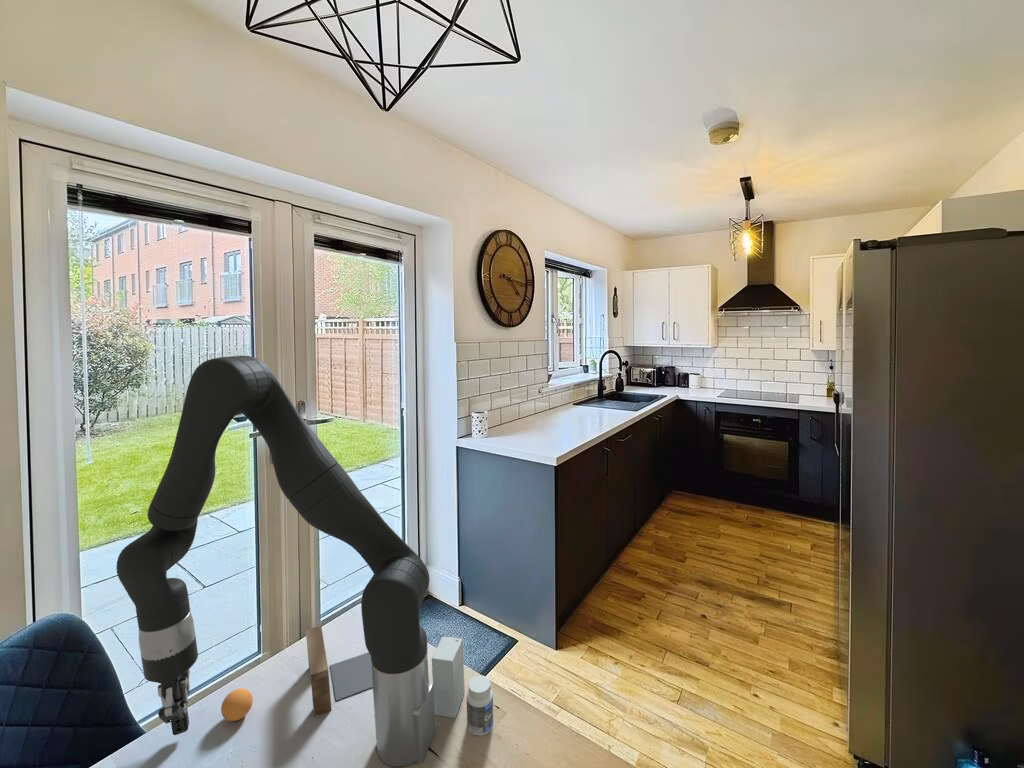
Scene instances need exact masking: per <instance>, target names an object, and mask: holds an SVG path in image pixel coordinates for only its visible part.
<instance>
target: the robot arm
mask: <svg viewBox="0 0 1024 768" xmlns="http://www.w3.org/2000/svg"><path fill="white" fill-rule="evenodd" d="M286 392H287V391H285V389H284V387H283V386H282V384H281V383H280V381H279V379H278V377H277V376H276V375H275V374H274V372H273V371H272V369H271V368H270V367H269V366H268V365H267V364H266V363H265V362H264V361H262V360H260V359H259V358H257V357H254V356H250V355H235V356H234V355H233V356H221V357H216V358H215V357H214V358H210V359H207V360H205V361H203V362H202V363H200V364H199V365H198V366H197V367H196V368H195V369H194V371H193V373H192V375H191V377H190V380H189V382H188V386H187V390H186V393H185V397H184V402H183V406H182V411H181V416H180V419H179V423H178V428H177V432H176V435H175V440H174V443H173V447H172V451H171V454H170V457H169V461H168V464H167V466H166V468H165V471H164V473H163V476H162V477H161V480H160V482H159V483H158V486H157V488H156V490H155V493H154V495H153V497H152V499H151V502H150V504H149V506H148V510H147V520H148V521H149V523H150V524H151V525H152V526H151V528H150V530H148V531H147V532H145V533H144V534H142V535H141V536H139V537H138V538H136V539H134V540H133V541H132V542H130V543H129V544H127V545H126V546H125V547H123V549H122V550H121V551H120V553H119V554H118V557H117V560H116V574H117V577H118V580H119V581H120V583H121V585H122V586H123V588H124V590H125V592H126V593H127V595H128V596H129V599H130V600H131V601H132V603H133V604H134V606H135V612H136V613H135V614H136V621H137V627H138V646H139V651H140V658H141V659H140V660H141V665H142V671H143V676H144V678H145V680H146V681H148V682H151V683H157V684H158V685H157V694H158V697H159V698H160V700H161V708H159V709H158V712H157V713H158V715H157V716H158V717H159V719H160V720H161V721H163V723H164V724H167V725H168V724H169V723H170V725H171V731H172V732H171V733H172V735H173V736H177V735H180V734H183V733H186V732H187V731H188V730H189V726H190V725H189V724H190V720H189V719H190V718H189V711H188V705H189V695H190V689H191V686H190V673H191V671H190V669H191V668H192V667H193V666H194V664H195V663H196V662H197V660H198V658H199V657H198V656H199V652H198V651H199V650H198V643H197V637H196V631H195V622H194V617H193V615H192V612H191V607H190V599H189V598H190V597H189V591H188V587H187V584H186V582H185V581H184V580H182V579H181V578H178V577H167V575H168V574H167V572H168V571H169V570H170V569H171V568H172V567H174V566H175V565H176V564H177V563H179V562H180V561H181V560H182V559H183V558H185V556H186V555H187V554H188V552H189V551H190V548H191V547H192V545H193V543H194V540H195V537H196V532H197V527H198V518H199V516H200V514H201V512H202V510H203V508H204V507H205V504H206V501H207V500H208V497H209V495H210V493H211V491H212V488H213V485H214V482H215V477H216V451H217V447H218V444H219V442H220V440H221V437H222V435H223V433H224V432H225V431H226V429H227V428H228V426H229V425H230V423H231V422H232V420H233V419H234V418H235V417H236V416H238V415H244V416H245V418H246V419H248V421H249V422H250V423H251V424H252V425H253V427H254V428H255V429H256V430H257V431H258V433H260V436H261V437H262V438H263V439H264V441H265V444H266V445H267V448H268V450H269V453H270V456H271V457H270V458H271V461H272V465H273V469H274V474H275V477H276V480H277V483H278V485H279V488H280V491H282V493H283V495H284V496H285V497H286V499H287V500H288V501H289V503H291V505H292V507H294V509H295V510H296V511H297V513H298V514H299V515H300V516H301V517H302V518H303V519H304V521H305V522H306V523H307V524H309V525H310V526H311V527H313V528H315V529H316V530H319V531H320V532H322V533H324V534H325V535H326V534H327V535H329V536H331V537H332V538H335V539H338V540H340V541H342V542H343V543H345V544H347V545H348V546H350V547H351V548H353V549H354V551H356V552H357V553H358V554H359V555H360V557H361V558H362V559H363V561H365V563H366V564H367V565H368V567H369V569H370V570H371V571H372V573H373V575H372V576H371V578H370V579H369V581H368V583H367V584H366V585H365V586H364V588H363V591H362V596H361V601H360V602H361V608H360V609H361V618H362V619H361V620H362V628H363V636H364V637H363V638H364V643H365V647H366V649H367V653H368V652H369V653H370V655H371V665H372V681H373V688H372V694H373V696H372V697H373V709H374V725H375V727H374V728H375V740H376V753H377V754H378V755H377V756H378V757H379V759H380V760H381V761H382V762H383V763H385V764H386V765H389V766H390V767H392V766H393V767H404V766H409V765H411V764H413V763H419V764H420V763H423V761H424V759H425V757H426V754H427V752H428V750H429V747H430V745H431V743H432V740H433V738H434V735H435V734H436V715H435V708H434V686H433V683H430V680H429V660H428V659H429V656H428V653H429V652H428V636H427V632H426V630H425V629H424V628H423V627H422V626H421V625H420V608H421V606H422V603H423V601H424V598H425V596H426V595H427V592H428V589H429V586H430V574H429V570H428V567H427V566H426V564H425V563H424V561H423V560H422V559H421V557H420V556H419V555H418V554H417V552H415V551H414V550H413V549H412V547H410V546H409V544H407V543H406V542H405V541H404V540H403V539H402V538H401V537H400V536H399V535H398V533H396V531H394V530H393V528H391V527H390V526H389V525H388V523H387V522H386V521H385V520H384V518H383V517H382V516H381V515H380V513H378V511H377V510H376V509H375V508H374V506H373V504H371V503H370V501H369V500H368V499H367V497H366V496H365V495H364V494H363V493H362V492H361V490H360V489H359V488H358V486H357V485H356V484H355V482H354V481H353V479H352V478H351V477H350V475H349V474H348V473H347V472H346V470H345V469H344V468H343V466H342V465H341V464H340V463H339V462H338V460H337V459H336V458H335V457H334V456H333V454H331V452H330V451H329V450H328V449H327V447H326V445H324V443H323V441H321V440H320V438H319V436H318V435H317V434H316V433H315V431H313V429H312V428H311V427H310V426H309V424H308V423H307V422H306V421H305V420H304V418H303V417H302V415H301V414H300V412H299V411H298V409H297V408H296V406H295V405H294V403H293V402H292V400H291V398H290V397H289V395H288V394H287V393H286ZM170 720H171V721H170Z"/></svg>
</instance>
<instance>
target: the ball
mask: <svg viewBox="0 0 1024 768" xmlns="http://www.w3.org/2000/svg"><path fill="white" fill-rule="evenodd" d="M253 700H254V699H253V694H252V693H251V691H250V690H249V689H247V688H244V687H239V688H236V689H233V690H231V691H230V692H229V693H228V694H227V695H226V696H225V698H224V699H223V701H222V703H221V709H220V710H221V716H222V717H223V719H225V720H226V721H228V722H235V721H239V720H241V719H243V718H244V717H246V716H247V714H248V713H249V712H250V710H251V708H252V706H253V703H254V702H253Z"/></svg>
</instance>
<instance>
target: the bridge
mask: <svg viewBox="0 0 1024 768" xmlns="http://www.w3.org/2000/svg"><path fill="white" fill-rule="evenodd" d="M322 627H323V626H322V625H318V626H315V627H311V628H308V629H305V638H306V646H307V647H306V648H307V659H308V671H309V674H310V675H309V676H310V683H311V696H312V698H311V699H312V706H313V707H312V708H313V717H314V718H315V717H318V716H320V715H323V714H325V713H328V712H331V711H332V701H331V699H332V698H331V687H330V675H329V666H328V660H327V653H326V648H325V641H324V634H323V628H322Z"/></svg>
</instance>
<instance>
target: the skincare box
mask: <svg viewBox="0 0 1024 768" xmlns="http://www.w3.org/2000/svg"><path fill="white" fill-rule="evenodd" d="M463 640H464V639H463V638H457V637H453V636H452V637H451V636H442V637H441V638H440V641H439V643H438V644H437V646H436V649H435V651H434V654H433V656H432V658H431V669H432V671H431V672H432V684H433V686H434V708H435V716H440V717H441V716H442V717H446V718H452V719H456V717H457V714H458V712H459V709H460V706H461V703H462V701H463V699H464V695H465V693H466V692H465V691H466V690H465V688H466V687H465V668H464V666H465V664H464V663H465V662H464V642H463Z"/></svg>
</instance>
